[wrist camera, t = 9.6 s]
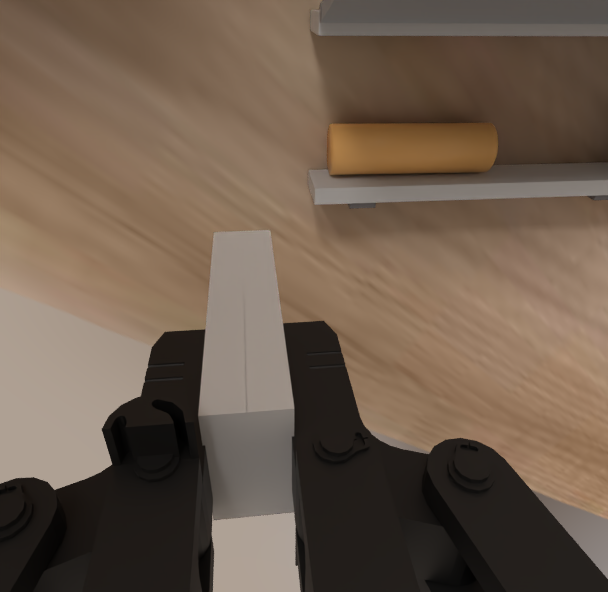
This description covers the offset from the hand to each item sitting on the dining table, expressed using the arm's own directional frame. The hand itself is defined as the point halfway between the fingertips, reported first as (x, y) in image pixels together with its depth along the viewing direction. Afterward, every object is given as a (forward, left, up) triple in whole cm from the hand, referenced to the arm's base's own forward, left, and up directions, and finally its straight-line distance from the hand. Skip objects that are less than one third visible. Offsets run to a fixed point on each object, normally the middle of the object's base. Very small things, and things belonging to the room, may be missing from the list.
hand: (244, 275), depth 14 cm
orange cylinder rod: (+10, 0, -18) cm, 21 cm away
